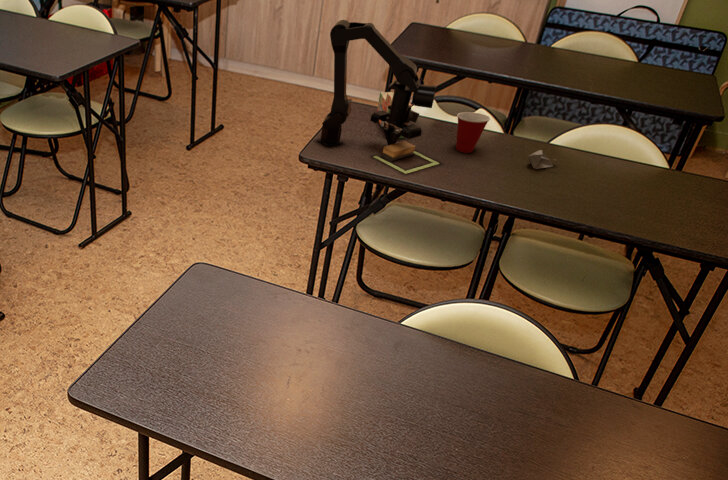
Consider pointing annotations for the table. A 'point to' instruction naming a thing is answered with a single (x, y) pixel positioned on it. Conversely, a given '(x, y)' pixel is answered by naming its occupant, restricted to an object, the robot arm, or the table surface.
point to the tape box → (410, 169)
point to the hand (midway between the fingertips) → (390, 148)
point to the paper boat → (540, 160)
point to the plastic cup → (469, 130)
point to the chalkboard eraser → (398, 151)
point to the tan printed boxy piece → (386, 104)
